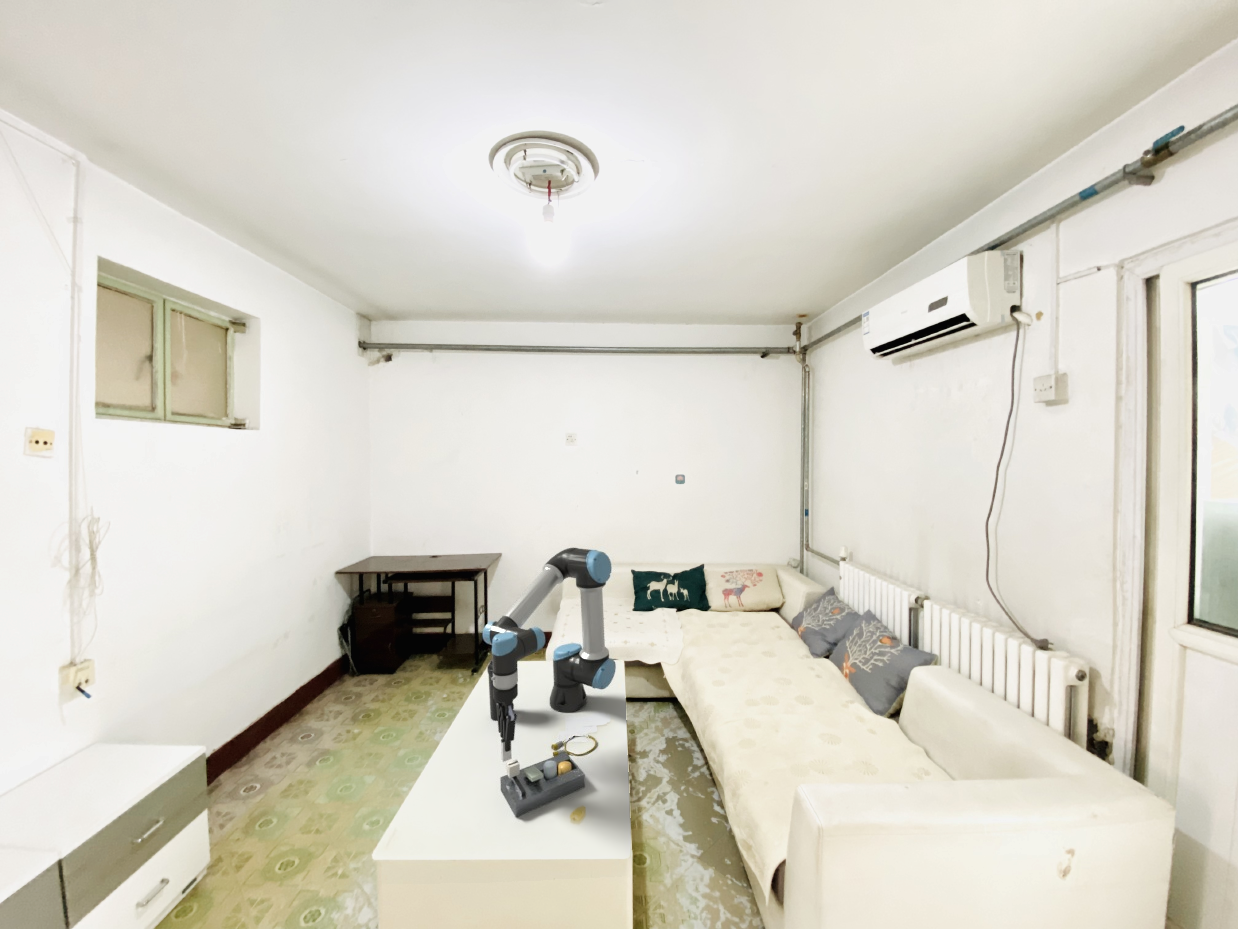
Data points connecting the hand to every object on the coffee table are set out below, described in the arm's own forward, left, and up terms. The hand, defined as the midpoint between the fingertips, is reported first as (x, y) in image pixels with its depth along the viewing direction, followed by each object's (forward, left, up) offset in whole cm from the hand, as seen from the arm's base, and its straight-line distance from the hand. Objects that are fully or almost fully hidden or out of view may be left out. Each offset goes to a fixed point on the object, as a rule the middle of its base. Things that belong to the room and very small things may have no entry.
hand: (506, 759), depth 149 cm
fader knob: (0, +6, -1) cm, 6 cm away
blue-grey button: (-11, +9, -5) cm, 15 cm away
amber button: (-16, +9, -7) cm, 19 cm away
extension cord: (-26, -4, -8) cm, 27 cm away
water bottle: (-11, -38, -7) cm, 40 cm away
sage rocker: (-5, +9, -1) cm, 11 cm away
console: (-8, +9, -7) cm, 14 cm away
